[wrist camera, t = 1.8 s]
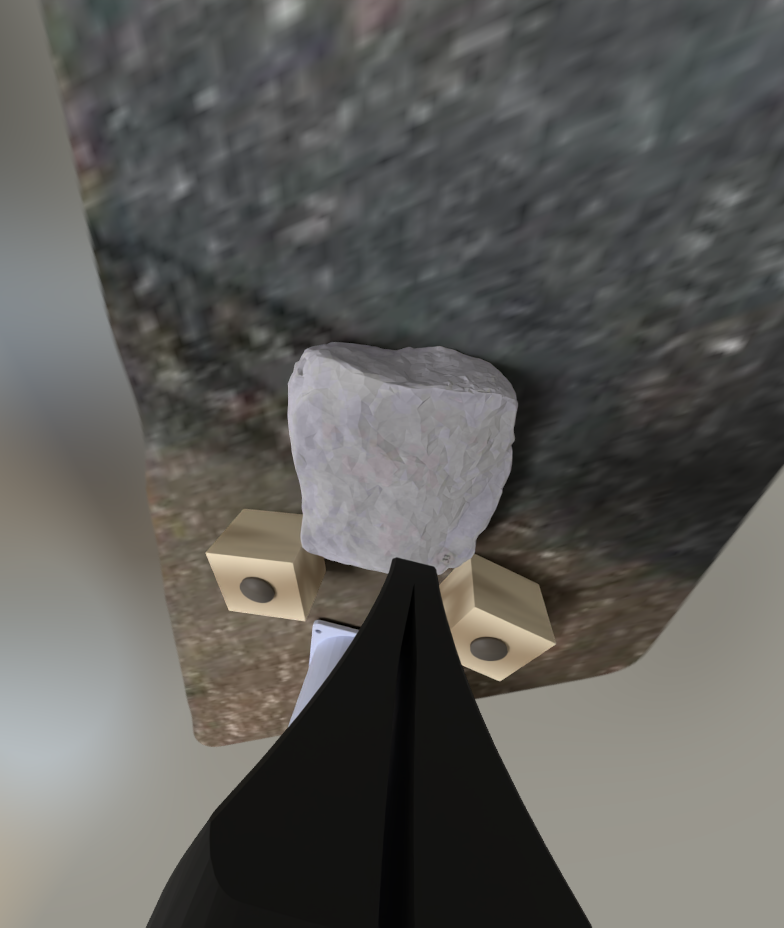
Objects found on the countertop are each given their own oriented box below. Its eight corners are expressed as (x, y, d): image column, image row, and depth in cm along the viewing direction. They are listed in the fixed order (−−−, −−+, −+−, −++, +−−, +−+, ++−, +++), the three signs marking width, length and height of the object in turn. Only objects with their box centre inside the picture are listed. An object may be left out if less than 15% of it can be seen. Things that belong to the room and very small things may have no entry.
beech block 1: (326, 569, 23) (304, 624, 19) (260, 561, 24) (227, 613, 20) (318, 514, 20) (291, 565, 17) (244, 507, 21) (203, 555, 17)
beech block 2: (492, 621, 23) (500, 684, 20) (430, 593, 23) (427, 653, 19) (538, 582, 21) (557, 647, 17) (470, 549, 20) (475, 610, 16)
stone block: (509, 342, 15) (296, 330, 15) (557, 375, 11) (267, 360, 11) (463, 524, 22) (313, 522, 21) (483, 585, 18) (300, 586, 17)
